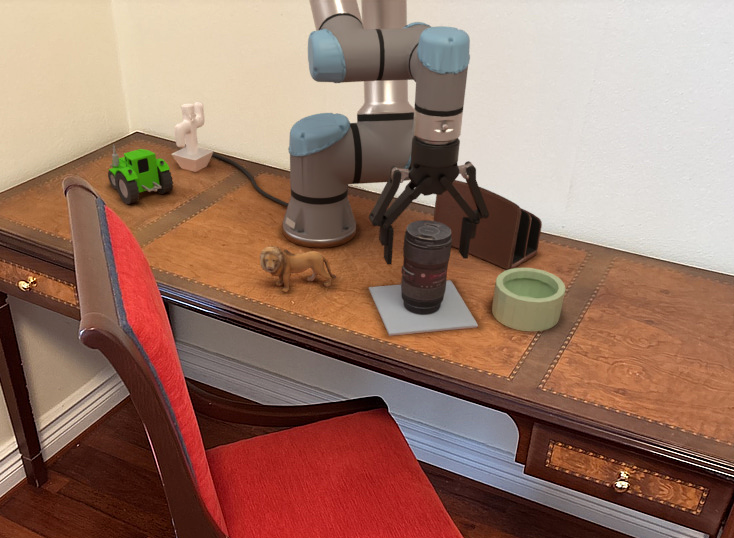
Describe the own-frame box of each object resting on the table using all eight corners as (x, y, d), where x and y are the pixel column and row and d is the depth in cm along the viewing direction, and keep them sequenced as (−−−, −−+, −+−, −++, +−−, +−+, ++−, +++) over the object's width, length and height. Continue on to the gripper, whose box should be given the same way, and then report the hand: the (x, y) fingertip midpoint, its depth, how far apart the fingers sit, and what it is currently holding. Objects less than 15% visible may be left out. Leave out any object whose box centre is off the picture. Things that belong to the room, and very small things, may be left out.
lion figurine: (266, 300, 145) (264, 255, 140) (257, 286, 149) (254, 242, 143) (341, 285, 150) (341, 241, 144) (330, 272, 154) (330, 229, 148)
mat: (368, 289, 149) (368, 287, 149) (450, 282, 152) (451, 280, 152) (389, 336, 137) (389, 333, 136) (477, 327, 140) (478, 325, 139)
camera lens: (441, 320, 140) (450, 242, 131) (396, 314, 141) (401, 236, 132) (447, 297, 147) (455, 221, 137) (403, 291, 148) (408, 216, 138)
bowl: (482, 299, 147) (486, 270, 144) (543, 293, 149) (549, 265, 146) (505, 334, 138) (510, 304, 134) (570, 328, 140) (576, 298, 136)
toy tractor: (141, 175, 188) (135, 133, 182) (179, 197, 179) (174, 153, 173) (99, 187, 182) (91, 144, 176) (135, 210, 173) (129, 166, 167)
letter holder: (509, 271, 156) (520, 204, 147) (430, 238, 166) (436, 173, 157) (537, 254, 162) (549, 188, 153) (459, 223, 172) (466, 160, 163)
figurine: (169, 170, 191) (161, 107, 182) (194, 158, 198) (188, 96, 188) (193, 176, 188) (187, 112, 179) (218, 164, 195) (212, 101, 186)
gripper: (363, 149, 120) (359, 274, 133) (519, 141, 124) (501, 262, 138) (353, 132, 126) (350, 253, 139) (503, 124, 130) (486, 242, 143)
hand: (425, 258), depth 138 cm, fingers open, 13 cm apart
